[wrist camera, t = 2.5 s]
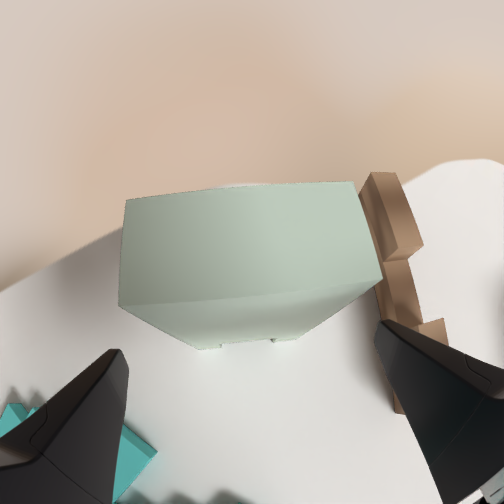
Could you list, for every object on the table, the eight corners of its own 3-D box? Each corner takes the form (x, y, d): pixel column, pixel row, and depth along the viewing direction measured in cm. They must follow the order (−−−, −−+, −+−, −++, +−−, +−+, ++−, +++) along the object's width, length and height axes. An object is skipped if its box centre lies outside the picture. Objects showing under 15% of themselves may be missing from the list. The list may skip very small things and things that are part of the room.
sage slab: (295, 339, 19) (382, 279, 7) (198, 349, 18) (118, 305, 6) (289, 297, 20) (353, 181, 8) (195, 306, 19) (126, 200, 7)
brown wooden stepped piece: (418, 404, 16) (455, 406, 12) (395, 412, 16) (430, 418, 12) (374, 204, 23) (395, 172, 19) (351, 205, 23) (370, 172, 19)
